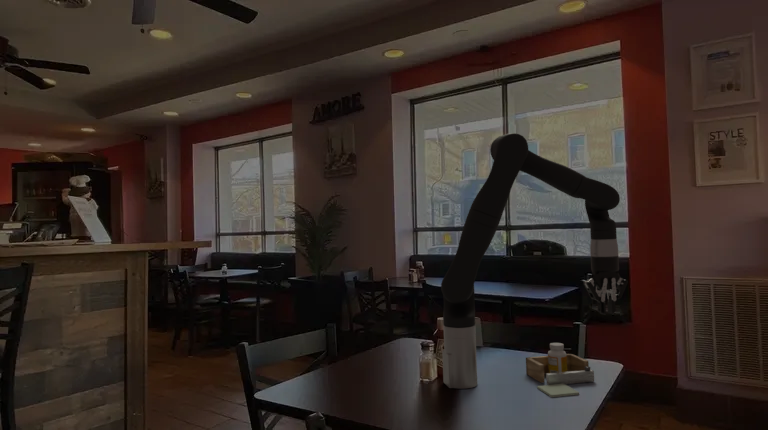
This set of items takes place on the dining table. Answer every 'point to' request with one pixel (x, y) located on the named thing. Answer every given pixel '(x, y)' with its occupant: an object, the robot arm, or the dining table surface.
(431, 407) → the dining table surface
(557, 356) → the supplement bottle
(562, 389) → the coaster
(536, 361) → the bracket
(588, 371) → the bar
